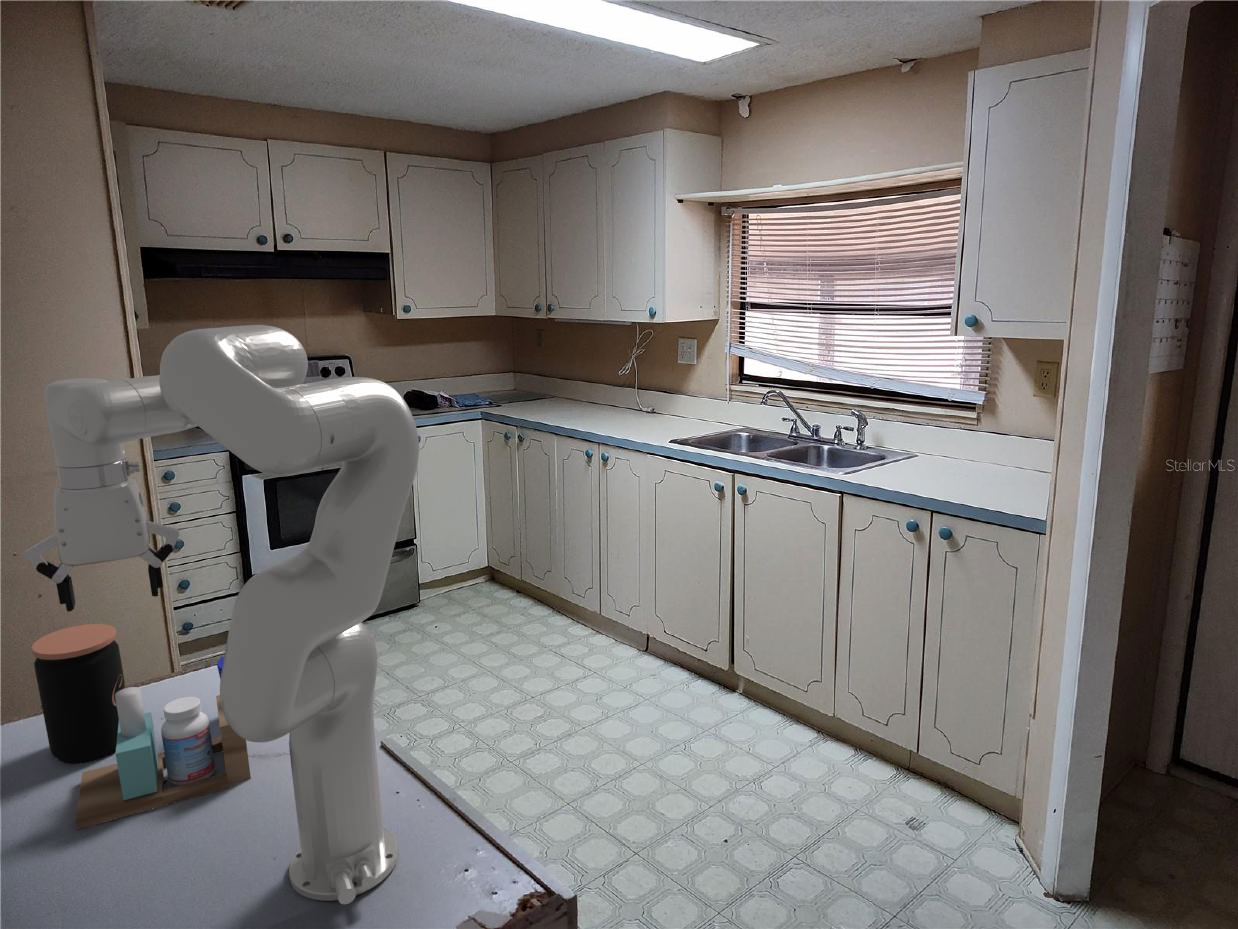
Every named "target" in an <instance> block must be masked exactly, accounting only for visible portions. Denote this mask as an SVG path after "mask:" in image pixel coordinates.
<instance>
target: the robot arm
mask: <svg viewBox="0 0 1238 929" xmlns="http://www.w3.org/2000/svg"><path fill="white" fill-rule="evenodd" d="M161 355H162V356H161V359H160V362H159V374H156V375H149V376H148V375H146V376H138V377H133V378H124V379H116V380H107V379H103V378H99V377H98V378H96V377H95V378H94V377H93V378H91V377H84V378H81V377H80V378H72V379H70V378H68V379H63V380H58V381H53V382H51V383H48V385H47V386H46V388H45V389H44V392H43V396H44V402H45V410H46V414H47V419H48V420H47V421H48V426H49V432H50V438H51V444H52V449H53V455H54V460H55V466H56V472H57V476H58V477H57V478H58V485H59V487H56V488H55V489H54V493H53V494H54V496H53V519H54V532H55V533H53V534H51V535H49V536H48V537H46V538H44V539H43V540H41V541H39V542H38V543H36V544H34V545H33V546H31V547H29V548H28V549H26V550H25V552H24V554H23V557H24V558H25V559H26V561H28V563H30V565H31V566H32V567H34V569H35V570H36V571H37V572H38V574H41V575H42V576H44V577H46V578H48V579H49V580H51V581H52V583H54V584H56V585H55V586H56V590H57V594H58V595H57V596H58V600H59V604H60V605H65V609H66V612H67V613H68V612H72V611H74V609H75V607H76V597H75V592H74V586H73V580H72V576H71V575H69V573H70V572H71V570H72V569H73V568H74V567H78V566H79V567H81V566H88V565H95V564H101V563H108V562H113V561H121V560H122V561H123V560H127V559H129V560H130V559H133V558H137V557H139V558H140V559H142V560H143V561H144V562H146V563H147V564H148V567H147V571H148V578H149V586H150V593H151V596H152V597H153V598H154V597H155V598H156V597H159V589H161V588H164V582H163V581H164V580H163V575H162V573H163V572H162V568H161V566H162V565H163V563H164V562H165V561H166V559H167V558H169V557H170V555H171V554H172V553H173V550H174V548H175V545H176V544H177V542H178V539H179V537H180V531H179V529H177V528H175V527H171V526H170V525H169V526H168V525H165V524H161V523H157V522H154V521H150V520H147V516H146V510H145V505H144V501H143V497H142V494H141V491H140V488H139V486H138V483H137V481H136V479H134V478H129V477H131V475H134V473H140V472H141V469H140V468H141V467H140V462H139V461H136V462H135V461H134V462H133V461H129V460H128V459H127V457H126V455H125V454H126V453H125V448H124V443H127V442H131V441H136V440H141V439H142V440H143V439H146V438H152V437H156V436H164V435H168V434H174V433H179V432H182V431H185V430H186V431H187V430H189V429H193V428H196V427H198V428H200V429H201V430H203V431H204V432H205V433H207V434H208V435H209V436H210V437H212V438H213V439H215V440H216V441H217V442H218V443H219V444H220V445H222V446H223V447H224V448H226V450H229V451H230V452H231V453H232V454H234V455H235V456H236V457H238V458H239V459H240V460H241V461H242V462H244V463H245V464H247V465H248V466H250V467H251V468H252V469H254V470H256V471H258V472H261V473H262V474H265V475H268V476H274V477H289V476H295V475H300V474H303V473H306V472H311V471H314V470H317V469H318V470H319V469H321V468H324V467H328V466H331V465H335V464H338V463H342V466H341V468H340V469H339V471H338V473H337V474H336V475H335V477H334V479H332V481H331V483H330V484H329V486H328V487H327V489H326V491H325V492H324V493H323V496H322V497H321V499H320V502H319V505H318V507H317V511H316V515H315V520H314V521H315V522H314V526H313V530H312V533H311V537H310V538H309V539H310V540H309V541H308V544H307V546H305V548H304V549H303V550H302V551H300V552H299V553H297V554H296V555H294V556H292V557H289V558H286V559H285V560H283V561H280V562H277V563H275V564H272V565H270V566H268V567H266V568H264V569H262V570H260V571H259V572H257V573H255V574H254V575H253V576H252V577H250V578H249V579H248V580H247V582H245V583H244V585H243V586H242V588H241V589H240V591H239V592H238V595H237V596H236V598H235V601H234V603H233V607H232V613H231V618H230V623H229V629H228V635H227V640H226V646H225V650H224V651H225V652H224V656H223V657H224V661H223V667H222V673H221V680H220V682H219V695H220V700H221V706H222V710H223V713H224V716H225V719H226V721H227V723H228V724H229V726H230V727H231V728H232V730H233V731H234V732H235V733H236V734H237V735H238V736H240V737H242V738H244V739H246V741H248V742H251V743H268V742H273V741H275V740H278V739H280V738H282V737H285V736H286V735H288V734H289V738H288V740H289V741H288V744H289V745H288V746H289V757H290V768H291V777H292V786H293V794H294V803H295V811H296V818H297V820H296V821H297V826H298V828H297V829H298V837H299V846H300V847H299V848H298V850H296V852H295V853H294V854H293V856H292V858H291V860H290V863H289V868H288V869H289V871H288V873H289V874H288V875H289V881H290V883H291V886H292V888H293V889H294V890H295V891H296V892H297V894H299V895H301V896H303V897H306V898H307V899H311V900H315V901H323V902H324V901H325V902H327V901H330V902H331V901H338V902H339V903H340V904H341V905H347V904H350V903H352V902H353V901H354V900H355V899H356V896H357V895H358V896H359V895H360V894H363V893H365V892H367V891H369V890H371V889H372V888H375V886H377V885H379V884H380V883H382V882H383V881H384V880H385V879H386V878H387V877H388V876H389V875H390V874H391V873H392V871H393V869H394V868H395V866H396V864H397V862H398V858H399V845H398V841H397V838H396V836H395V835H394V834H393V832H391V831H390V830H389V829H387V828H386V827H384V822H383V812H382V800H381V790H380V779H379V768H378V767H379V766H378V756H377V755H378V754H377V745H376V744H377V742H376V731H375V729H376V728H375V718H374V717H375V715H374V714H375V713H374V710H375V709H374V703H375V702H374V700H375V689H376V680H377V673H378V672H377V671H378V650H377V647H376V646H377V645H376V642H375V640H374V637H373V635H372V633H371V631H370V630H369V628H368V627H367V626H366V625H365V624H364V623H363V622H364V621H365V620H366V619H368V618H369V617H370V616H372V614H374V613H375V611H376V610H377V608H378V606H379V604H380V602H381V601H380V600H381V598H382V596H383V592H384V589H385V584H386V580H387V577H388V573H389V569H390V565H391V561H392V558H393V553H394V548H395V546H396V541H397V537H398V531H399V528H400V524H401V520H402V516H403V515H404V514H403V513H404V511H405V509H406V508H405V507H406V505H407V502H408V500H409V496H410V494H411V491H412V488H413V484H414V481H415V477H416V474H417V470H418V462H419V457H420V456H419V455H420V443H419V442H420V441H419V435H418V434H419V433H418V428H417V426H416V421H415V419H414V416H413V414H412V411H411V409H410V407H409V405H408V404H407V402H406V401H405V399H404V398H403V396H401V394H400V393H399V392H398V391H397V390H396V389H394V388H393V387H392V386H391V385H389V384H388V383H386V382H384V381H382V380H378V379H376V378H370V377H366V376H365V377H363V376H362V377H361V376H360V377H359V376H350V377H349V376H347V377H338V378H333V379H332V378H331V379H325V380H319V381H313V382H308V383H304V380H305V379H306V377H307V373H308V368H309V367H308V366H309V365H308V364H309V362H308V356H307V352H306V350H305V348H304V346H303V344H302V343H301V341H299V340H298V338H297V337H295V336H294V335H293V334H292V333H291V332H288V331H286V330H284V329H282V328H279V327H277V326H273V325H266V324H251V325H250V324H249V325H247V324H246V325H237V326H236V325H233V326H222V327H207V328H199V329H192V330H189V331H186V332H183V333H182V334H181V333H180V334H179V335H177V336H176V337H175V338H173V339H172V340H171V341H170V342H169V344H168V345H166V347H165V349H164V351H163V352H162V354H161ZM150 534H153V535H157V536H160V537H164V538H165V540H164V542H163V544H162V546H161V547H159V549H158V550H155V549H154V548H152V547H151V546H150V543H151V538H150V537H151V536H150ZM55 547H56V548H57V554H58V558H59V559H58V560H60V563H59V564H58V566H56V565H55V564H53V563H52V562H49V561H48V560H46V559H45V557H43V554H44V553H46V552H48V551H50V550H51V549H53V548H55Z"/></svg>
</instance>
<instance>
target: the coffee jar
mask: <svg viewBox="0 0 1238 929" xmlns="http://www.w3.org/2000/svg"><path fill="white" fill-rule="evenodd" d="M116 637H117V630H116V628H115V627H114V626H113V625H109V624H107V623H106V624H105V623H92V624H91V623H88V624H80V625H74V626H69V627H67V628H66V627H65V628H61V629H58V630H56V631H53V632H51V633H50V632H49V633H48V634H46V635H44V636H42V637H39V639H37V640H36V641H34V642H33V643H32V646H31V648H30V651H31V653H32V655H33V657H35V658H36V659H35V660H34V663H33V666H34V667H33V668H34V671H35V672H34V673H35V677H36V683H37V688H38V692H39V698H40V702H41V703H40V704H41V709H42V714H43V718H44V720H43V721H44V723H45V730H46V735H47V741H48V746H49V750H50V753H51V755H52V756H53V758H55V759H57V760H58V761H60V762H61V763H62V764H67V763H68V764H69V765H77V764H78V765H79V764H80V763H81V764H86V763H91V762H96V761H98V760H101V759H104V758H107V757H109V756H110V755H114V754H116V745H117V735H118V725H119V717H118V711H117V705H116V699H115V694H116V693H117V692H118V691H120V690H122V689H125V688H127V687H126V683H125V682H126V681H125V675H124V670H123V663H122V656H121V652H120V646H119V644H118V642H117V641H116V640H115V639H116ZM95 760H96V761H95ZM68 764H67V765H68Z"/></svg>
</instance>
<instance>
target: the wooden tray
mask: <svg viewBox="0 0 1238 929" xmlns="http://www.w3.org/2000/svg"><path fill="white" fill-rule="evenodd" d="M215 697H216V698H215V699H216V704H217V705H216V707H217V715H218V722H219V730H220V738H216V739H211V740H212V747H213V753H214V754H218V753H223V758H224V766H225V773H222V774H219V775H215V776H210V777H208V778H207V779H203V780H199V781H195V782H192V783H188V784H184V785H180V786H178V785H175V786H174V787H170V788H166V789H164V787H165V786H164V784H165V779H164V778H165V776H164V774H165V771H164V770H165V768H164V767H166V761H165V754H164V751H162V752H159V753H158V752H157V753H158V787H157V792H154V793H150V794H146V795H142V796H139V797H135V798H131V799H127V800H124V801H123V795H122V789H121V783H120V777H119V771H118V765H117V763H115V764H110V765H107V766H102V767H98V768H94V769H90V770H87V771H82V775H81V780H80V786H79V787H80V788H79V793H78V798H77V804H76V810H75V817H74V823H75V828H76V830H77V831H78V830H80V829H84V828H88V826H89V827H92V826H94V825H99V824H103V823H106V822H105V821H107V822H110V821H113V819H114V820H116V819H115V818H118V819H121V818H124V817H128V816H127V815H129V816H131V815H135V813H136V814H139V813H138V812H140V813H142V812H141V811H143V812H147V811H150V810H149V809H151V810H153V809H152V808H154V809H157V807H158V808H161V807H160V806H162V807H164V805H165V806H167V805H166V804H169V805H172V804H175V803H174V802H176V803H179V801H180V802H183V801H187V800H190V798H191V799H194V798H198V797H201V796H204V795H208V794H212V793H213V794H214V793H216V792H221V791H223V790H228V789H229V785H232V784H234V783H235V784H236V783H239V782H242V781H247V780H250V779H251V778H252V776H251V771H250V770H251V769H250V762H249V753H248V746H247V745H248V744H247V740H246V739H244V738H242V737H240V736H238V735H237V734H236V733H235V732H234V731H233V730H232V728H231V727H230V726H229V724H228V723H227V721H226V719H225V716H224V713H223V710H222V706H221V700H220V694H218V695H215ZM146 810H147V811H146ZM109 820H110V821H109ZM102 822H103V823H102ZM91 825H92V826H91Z"/></svg>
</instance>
